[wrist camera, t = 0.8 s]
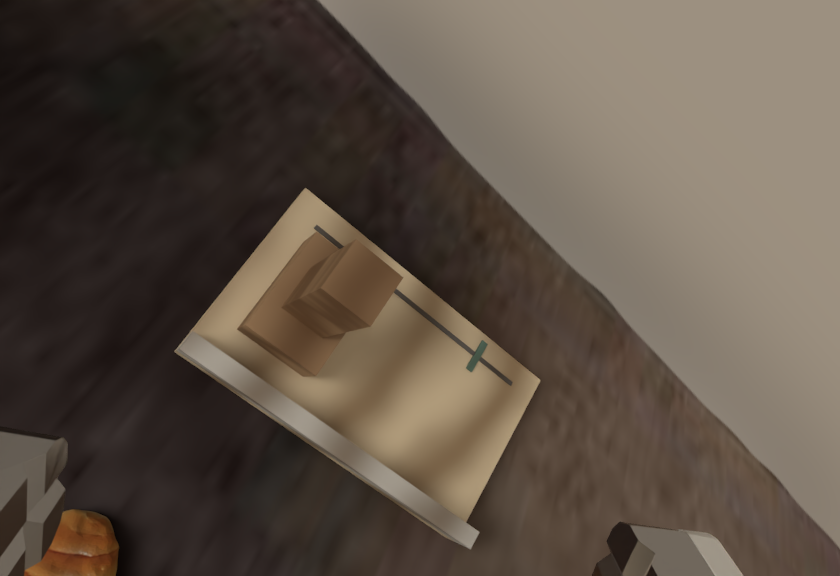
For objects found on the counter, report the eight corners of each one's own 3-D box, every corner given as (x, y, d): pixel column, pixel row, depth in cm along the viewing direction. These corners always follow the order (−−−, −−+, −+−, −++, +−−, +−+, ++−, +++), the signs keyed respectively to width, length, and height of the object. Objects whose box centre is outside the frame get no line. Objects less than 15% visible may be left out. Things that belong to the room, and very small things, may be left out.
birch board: (174, 351, 37) (178, 348, 34) (299, 194, 42) (314, 178, 39) (445, 537, 43) (470, 549, 40) (528, 380, 48) (557, 379, 45)
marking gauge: (236, 329, 38) (277, 309, 28) (308, 234, 40) (369, 186, 31) (302, 376, 39) (364, 373, 29) (368, 282, 42) (444, 250, 32)
